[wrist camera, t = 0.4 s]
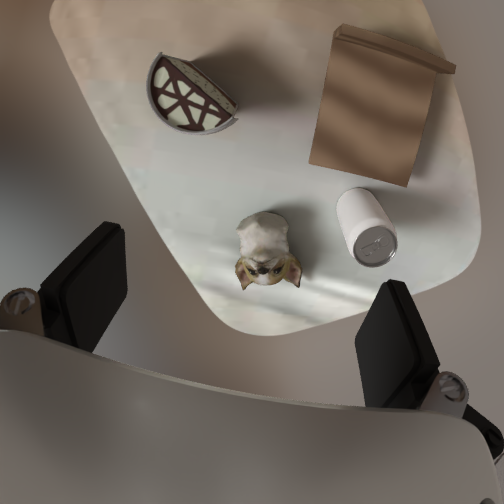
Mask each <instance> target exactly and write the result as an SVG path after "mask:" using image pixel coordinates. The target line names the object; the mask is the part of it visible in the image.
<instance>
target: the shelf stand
mask: <svg viewBox="0 0 504 504" xmlns="http://www.w3.org/2000/svg"><path fill="white" fill-rule="evenodd" d="M455 69H456V65H454V64H452V63H450V62H448V61H446V60H444V59H442V58H440V57H437V56H435V55H433V54H431V53H428V52H426V51H423V50H421V49H419V48H416V47H414V46H411V45H408V44H406V43H403V42H400V41H398V40H395V39H392V38H389V37H386V36H383V35H380V34H377V33H374V32H371V31H368V30H364V29H361V28H357V27H354V26H350V25H347V24H342V25H341V26H339V27H338V28H337V29H336V30H335V31H334V34H333V40H332V46H331V51H330V57H329V62H328V68H327V73H326V78H325V84H324V89H323V94H322V99H321V104H320V109H319V114H318V119H317V124H316V129H315V134H314V139H313V143H312V148H311V153H310V157H309V164H312V165H317V166H321V167H326V168H331V169H335V170H340V171H344V172H348V173H352V174H357V175H361V176H365V177H369V178H373V179H377V180H381V181H384V182H388V183H392V184H395V185H399V186H403V187H406V188H407V185H408V181H409V178H410V175H411V172H412V169H413V165H414V162H415V159H416V155H417V152H418V148H419V145H420V141H421V137H422V134H423V130H424V126H425V122H426V118H427V114H428V110H429V105H430V101H431V97H432V92H433V87H434V82H435V77H436V73H446V74H455Z"/></svg>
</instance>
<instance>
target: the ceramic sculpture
mask: <svg viewBox="0 0 504 504" xmlns="http://www.w3.org/2000/svg"><path fill="white" fill-rule="evenodd" d="M288 228H289V226H288V223H287V221H286V220H285V219H284V218H283V217H282V216H279V215H277V214H272V213H268V212H259V213H256V214H253V215H252V216H249V217H247V218H245V219H243V220H242V221H241V222H240V224H239V226H238V227H237V229H236V231H237V233H238V235H239V236H240V239H241V247H240V252H241V258H240V259H239V260H238V262H237V264H236V265H235V268H236V271H235V273H236V275H237V277H238V279H239V280H240V282H241V286H242V289H243V290H245V289H246V287H247V286H248V285H249V284H251V283H253V282H254V283H257V284H259V285H273V284H276V283H278V282H280V281H281V280H282V279H285V280H286V281H288V282H291V283H293V284H294V285H295V286H296V287H298V288H299V287H300V280H301V274H302V268H301V265H300V262H299V261H298V259H297V258H296V257H295V256H293V255H292V254H291V253H289V245H288V242H287V236H286V234H287V231H288Z"/></svg>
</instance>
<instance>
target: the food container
mask: <svg viewBox="0 0 504 504" xmlns="http://www.w3.org/2000/svg"><path fill="white" fill-rule="evenodd" d="M146 91H147V97H148V100H149V104H150V106H151V108H152V110H153V111H154V113H155V114H156V116H157V117H158V118H159V119H160V120H161V121H162V122H163V123H164V124H166V125H167V126H168V127H170V128H172V129H174V130H176V131H178V132H181V133H185V134H191V135H206V134H212V133H216V132H219V131H221V130H223V129H226V128H227V127H229V126H231V125H232V124H234V123H235V122H236V121H237V120H238V118H234V115H235V113H236V110H237V108H238V105H239V104H238V103H237V102H236V101H235V100H234V99H232V98H231V97H230V96H229V95H228V94H227V93H226V92H225V91H224V90H222V89H221V88H220V87H219V86H218V85H217V84H216V83H215V82H213V81H212V80H211V79H210V78H209V77H208V76H207V75H205V74H204V73H203V72H202V71H201V70H200V69H198V68H197V67H196V66H195V65H194V64H193V63H191V62H190V61H187V60H183V59H179V58H175V57H171V56H167V55H163V54H162V52H160V53H158V54H157V56H156V57H155V59H154V60H153V62H152V64H151V66H150V69H149V72H148V75H147V81H146Z"/></svg>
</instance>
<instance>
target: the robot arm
mask: <svg viewBox="0 0 504 504" xmlns="http://www.w3.org/2000/svg"><path fill="white" fill-rule="evenodd" d="M40 286H41V288H40V290H39V291H38V292H36V291H35V290H33V289H31V288H18V289H15V290H12V291H11V292H9V293H8V294H6V295H5V296H4V297H3V299H2V301H1V303H0V504H504V452H503V449H504V439H503V436H502V434H501V432H500V430H499V429H498V428H497V427H496V426H495V425H494V424H492V423H491V422H490V421H489V420H487V419H486V418H485V417H484V416H482V415H481V414H480V413H478V412H477V411H476V410H475V409H473V408H472V407H471V406H469V405H468V404H467V402H468V399H469V391H468V388H467V386H466V384H465V382H464V381H463V380H462V379H461V378H460V377H459V376H458V375H456V374H454V373H452V372H448V371H445V372H441V373H439V370H438V367H439V366H440V362H439V360H438V357H437V355H436V352H435V350H434V347H433V345H432V343H431V340H430V338H429V335H428V333H427V331H426V328H425V326H424V323H423V321H422V319H421V317H420V314H419V312H418V310H417V308H416V306H415V303H414V301H413V299H412V297H411V295H410V293H409V291H408V288H407V286H406V284H405V283H404V282H402V281H397V280H392V279H389V280H388V281H387V282H384V283H383V284H382V285H381V287H380V289H379V291H378V293H377V295H376V298H375V300H374V302H373V304H372V306H371V308H370V310H369V312H368V314H367V316H366V317H365V319H364V322H363V323H362V325H361V327H360V329H359V331H358V333H357V335H356V338H355V347H356V353H357V358H358V363H359V369H360V375H361V381H362V387H363V393H364V399H365V406H366V407H359V406H345V405H333V404H322V403H313V402H304V401H297V400H289V399H282V398H275V397H268V396H262V395H256V394H250V393H244V392H239V391H234V390H228V389H223V388H218V387H214V386H209V385H204V384H200V383H195V382H191V381H187V380H183V379H178V378H175V377H171V376H167V375H163V374H159V373H155V372H152V371H148V370H145V369H141V368H138V367H134V366H131V365H127V364H124V363H121V362H118V361H115V360H111V359H108V358H105V357H102V356H99V355H96V354H93V353H92V352H93V351H94V349H95V347H96V345H97V344H98V342H99V340H100V338H101V337H102V335H103V333H104V332H105V330H106V329H107V327H108V325H109V324H110V322H111V320H112V319H113V317H114V315H115V314H116V312H117V311H118V309H119V307H120V306H121V304H122V302H123V301H124V299H125V298H126V295H127V289H128V288H127V273H126V255H125V232H124V229H121V226H120V225H119V224H117V223H112V222H107V221H104V222H103V223H102V224H101V225H100V226H99V227H97V228H96V229H95V230H94V231H93V232H92V233H91V234H90V235H89V236H88V237H87V238H86V239H85V240H84V241H83V242H82V243H81V244H80V245H79V246H78V247H76V249H75V250H73V251H72V252H71V253H70V254H69V256H67V258H65V259H64V260H63V261H62V263H61V264H60V265H59V266H58V267H57V268H56V269H55V270H54V271H53V272H52V273H51V274H50V275H49V276H48V277H47V278H46V279H45V280H44V281H43V282H42V284H41V285H40Z"/></svg>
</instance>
